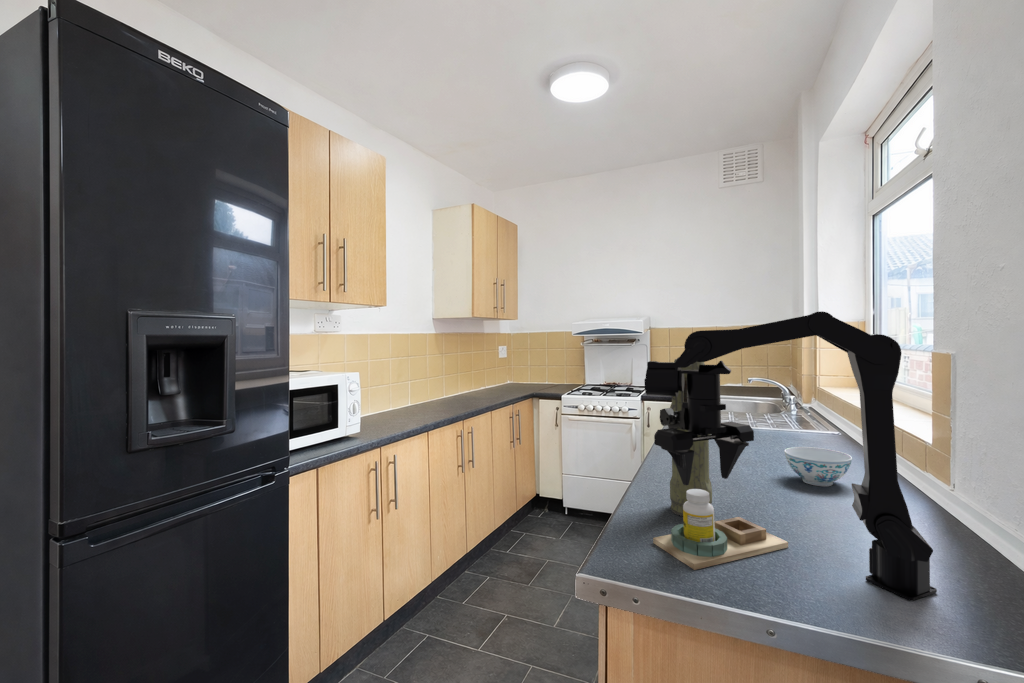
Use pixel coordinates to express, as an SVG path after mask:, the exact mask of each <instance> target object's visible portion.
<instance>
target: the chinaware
mask: <svg viewBox="0 0 1024 683" xmlns="http://www.w3.org/2000/svg"><path fill="white" fill-rule="evenodd" d="M784 456H785V459H786V462H787V464H788V466H789V467H790V468H791V470H792V471H793V472H794V473H796V474H797V475H798V476H799V477H800V478H802V481H803V483H804V484H805V483H806V484H807V485H808V484H809V485H813V486H817V487H830V486H833V484H834V482H836V481H838V480H840V479H841V478H843V477H844V476H845V475H846V474H847V473H848V472H849V470H850V467H851V465H852V460H853V457H852V456H851V455H850V454H848V453H845V452H842V451H838V450H833V449H828V448H822V447H814V446H813V447H811V446H809V447H808V446H795V447H794V446H793V447H788V448H785V449H784Z"/></svg>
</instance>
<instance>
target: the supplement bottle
mask: <svg viewBox="0 0 1024 683" xmlns="http://www.w3.org/2000/svg"><path fill="white" fill-rule="evenodd" d="M686 498H687V500H688V501H686V502H685V503H684V505H683V517H682V519H683V521H682V522H683V523H682V524H684V538H686V539H689V540H692V541H696V542H708V543H709V542H713V541H715V508H714V506H713V504H710V503H708V502H709V501H710V498H709V492H707V491H705V490H701V489H689V490H687V491H686Z"/></svg>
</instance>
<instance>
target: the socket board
mask: <svg viewBox="0 0 1024 683" xmlns="http://www.w3.org/2000/svg"><path fill="white" fill-rule="evenodd" d="M714 522H715V541H713V542H709V543H708V542H696V541H692V540H689V539H686V538H684V524H683V523H681V524H676V525H674V526H673V527H672V528H671V530H670V534H665V535H660V536H656V537H653V538H652V539H653V540H652V542H653V543H652V544H654V545H656V546H657V547H658V548H660V549H662V550H663V551H665V552H666V553H668V555H669V554H670V555H671V556H672V557H674V558H675V559H677V560H678V561H680V562H682V563H683V564H684V565H686V566H688V567H690V569H692V570H694V571H696V570H697V571H698V570H700V569H704V568H708V567H713V566H717V565H720V564H721V565H722V564H726V563H729V562H733V561H737V560H742V559H746V558H750V557H754V556H759V555H762V554H766V553H770V552H771V553H772V552H776V551H779V550H783V549H788V548H789V542H788V541H786V540H784V539H782V538H780V537H779V536H778V537H777V536H776V535H774V534H771V533H769V532H767V528H764V527H762V526H760V525H758V524H756V523H754V522H751V521H749V520H747V519H745V518H742V517H740V516H737V517H736V516H735V517H731V518H730V517H729V518H726V519H722V520H721V519H719V520H714Z"/></svg>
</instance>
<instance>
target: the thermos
mask: <svg viewBox="0 0 1024 683" xmlns="http://www.w3.org/2000/svg"><path fill="white" fill-rule="evenodd" d="M679 357H680V356H678V357H677V358H679ZM677 358H675V359H674V361H673V362H676V361H677ZM699 365H706V362H695V363H694V364H692V365H690V366H688V367H686V368H681V370H699ZM683 402H687V374H684V391H683V392H680V391H679V393H678V397H671V404H670V407H669V408H672V409H673V411H674V412H675V411H681V410H682V404H683ZM678 430H682V429H678ZM682 431H686V432H688V430H682ZM708 435H711V434H708ZM698 436H701V435H698ZM690 450H693V451H694V457H693V463H692V470H691V477H690V481H689V485H684V484H683V483H682V480H681V477H680V475H679V472H678V470H677V467H676V465H675V462H674V460H673V458H672V457H671V477H670V480H669V499H670V511H671V510H672V511H671V512H672V513H674V514H675V515H676V516H679V515H680V517H682V516H683V505H684V503H685V502H686V501H688V500H687V498H686V491H687V490H689V489H701V490H705V491H707V492H709V498H710V501H709V502H708V503H710V504H711V505H713V504H712V503H713V488H712V481H711V478H710V440H704V441H696V442H693V445H692V447H691V448H690Z"/></svg>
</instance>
